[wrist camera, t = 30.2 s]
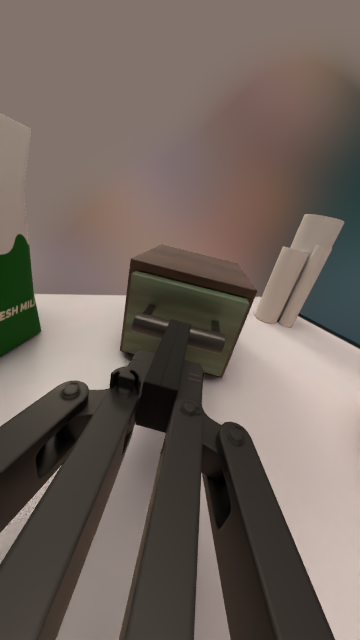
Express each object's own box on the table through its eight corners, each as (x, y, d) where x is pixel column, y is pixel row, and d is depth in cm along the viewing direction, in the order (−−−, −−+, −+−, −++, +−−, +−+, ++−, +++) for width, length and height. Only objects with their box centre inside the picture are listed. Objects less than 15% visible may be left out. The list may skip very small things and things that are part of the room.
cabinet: (222, 377, 23) (257, 290, 19) (119, 350, 23) (130, 258, 19) (217, 323, 36) (237, 263, 31) (150, 306, 36) (161, 244, 31)
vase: (267, 306, 51) (306, 217, 43) (298, 319, 48) (347, 224, 39) (251, 316, 43) (295, 207, 34) (286, 332, 39) (346, 215, 30)
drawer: (223, 410, 18) (261, 325, 14) (103, 378, 18) (110, 286, 14) (216, 324, 33) (233, 272, 29) (151, 307, 33) (160, 253, 30)
